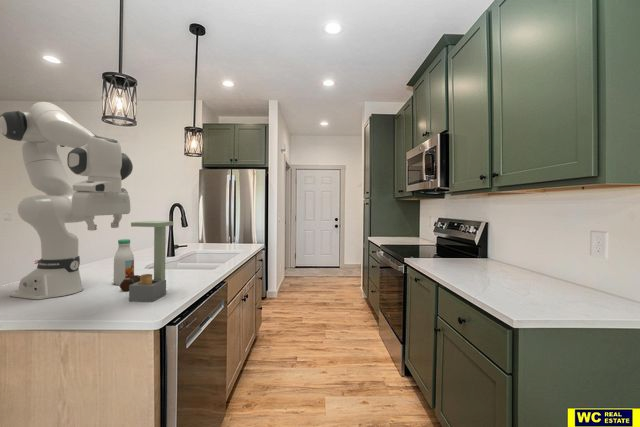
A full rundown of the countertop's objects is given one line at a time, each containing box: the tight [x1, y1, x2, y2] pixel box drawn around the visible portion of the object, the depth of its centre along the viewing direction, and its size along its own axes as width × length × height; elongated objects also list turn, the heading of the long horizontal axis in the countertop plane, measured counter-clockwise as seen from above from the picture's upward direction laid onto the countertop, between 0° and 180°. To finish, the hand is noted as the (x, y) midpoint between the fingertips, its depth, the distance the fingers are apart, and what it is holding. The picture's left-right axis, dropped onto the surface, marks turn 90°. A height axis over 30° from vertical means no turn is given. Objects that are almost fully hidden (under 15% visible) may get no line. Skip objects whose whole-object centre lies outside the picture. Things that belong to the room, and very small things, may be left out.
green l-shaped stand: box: [130, 220, 174, 280], centre depth 115 cm, size 10×12×30 cm
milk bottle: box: [113, 238, 135, 286], centre depth 132 cm, size 8×8×20 cm
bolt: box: [119, 274, 140, 293], centre depth 127 cm, size 6×5×15 cm
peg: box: [139, 273, 153, 285], centre depth 112 cm, size 4×4×9 cm
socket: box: [128, 279, 167, 303], centre depth 113 cm, size 9×9×6 cm
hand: (104, 229), depth 95 cm, fingers open, 8 cm apart
